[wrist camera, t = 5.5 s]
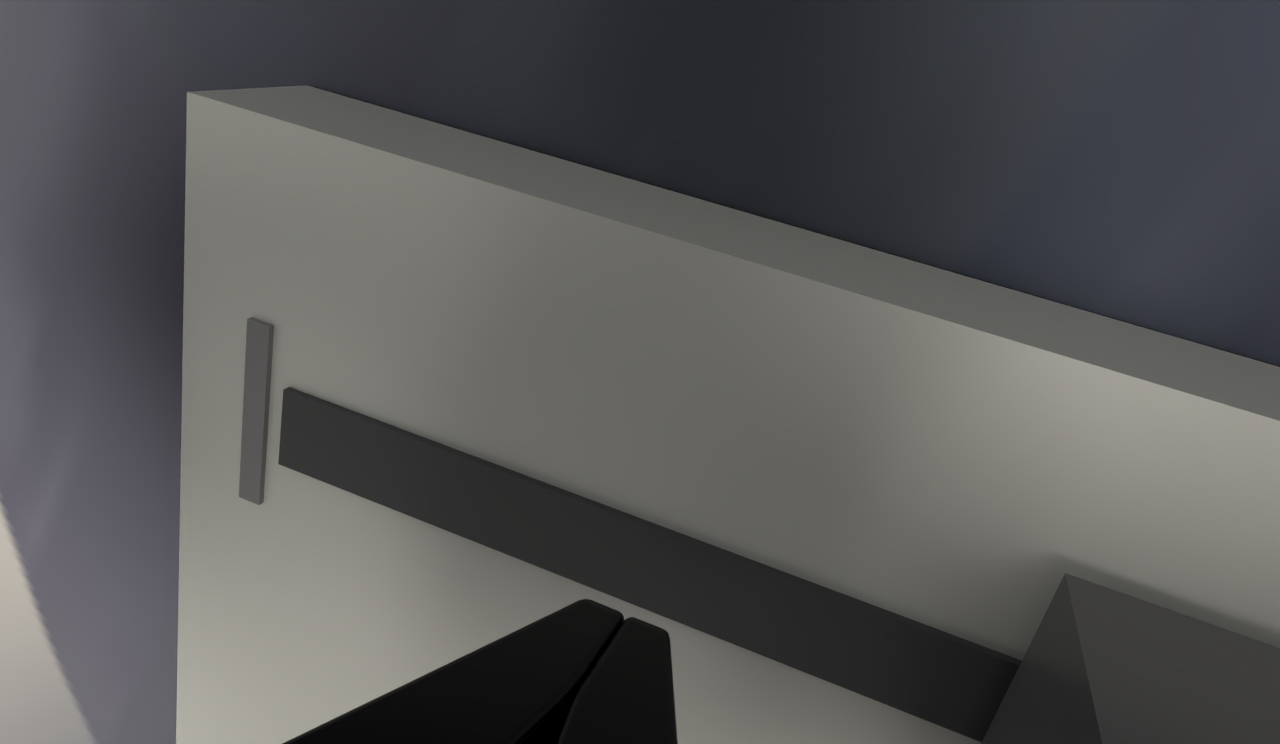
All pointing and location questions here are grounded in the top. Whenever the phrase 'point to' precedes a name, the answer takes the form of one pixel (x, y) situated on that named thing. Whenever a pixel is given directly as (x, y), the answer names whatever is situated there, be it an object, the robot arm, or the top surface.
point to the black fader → (1137, 677)
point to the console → (656, 441)
